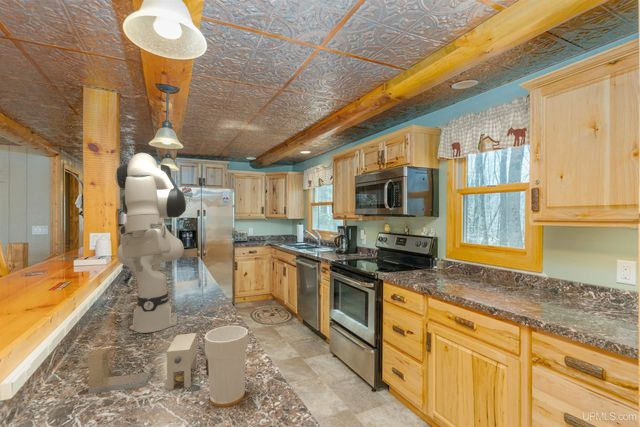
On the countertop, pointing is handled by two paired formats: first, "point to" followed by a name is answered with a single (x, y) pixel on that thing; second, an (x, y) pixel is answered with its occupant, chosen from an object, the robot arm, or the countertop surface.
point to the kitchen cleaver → (202, 346)
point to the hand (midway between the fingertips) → (147, 271)
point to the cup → (226, 364)
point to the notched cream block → (182, 358)
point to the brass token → (180, 377)
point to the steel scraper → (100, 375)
